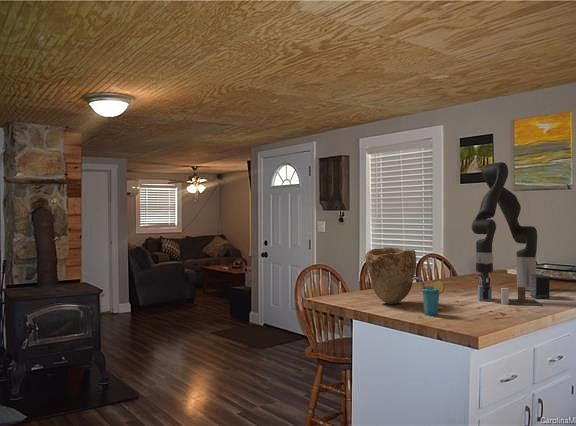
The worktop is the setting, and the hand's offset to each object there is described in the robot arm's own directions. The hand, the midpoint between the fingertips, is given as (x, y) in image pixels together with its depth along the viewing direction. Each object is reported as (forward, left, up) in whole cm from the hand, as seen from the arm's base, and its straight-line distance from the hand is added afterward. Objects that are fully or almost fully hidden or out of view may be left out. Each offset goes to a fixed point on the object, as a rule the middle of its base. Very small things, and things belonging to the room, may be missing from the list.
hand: (484, 297), depth 237 cm
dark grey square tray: (+5, +15, -1) cm, 16 cm away
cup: (+37, -28, -1) cm, 46 cm away
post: (+9, +7, -1) cm, 11 cm away
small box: (-11, +27, -1) cm, 29 cm away
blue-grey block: (0, 0, -1) cm, 1 cm away
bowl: (+15, -43, -1) cm, 46 cm away
